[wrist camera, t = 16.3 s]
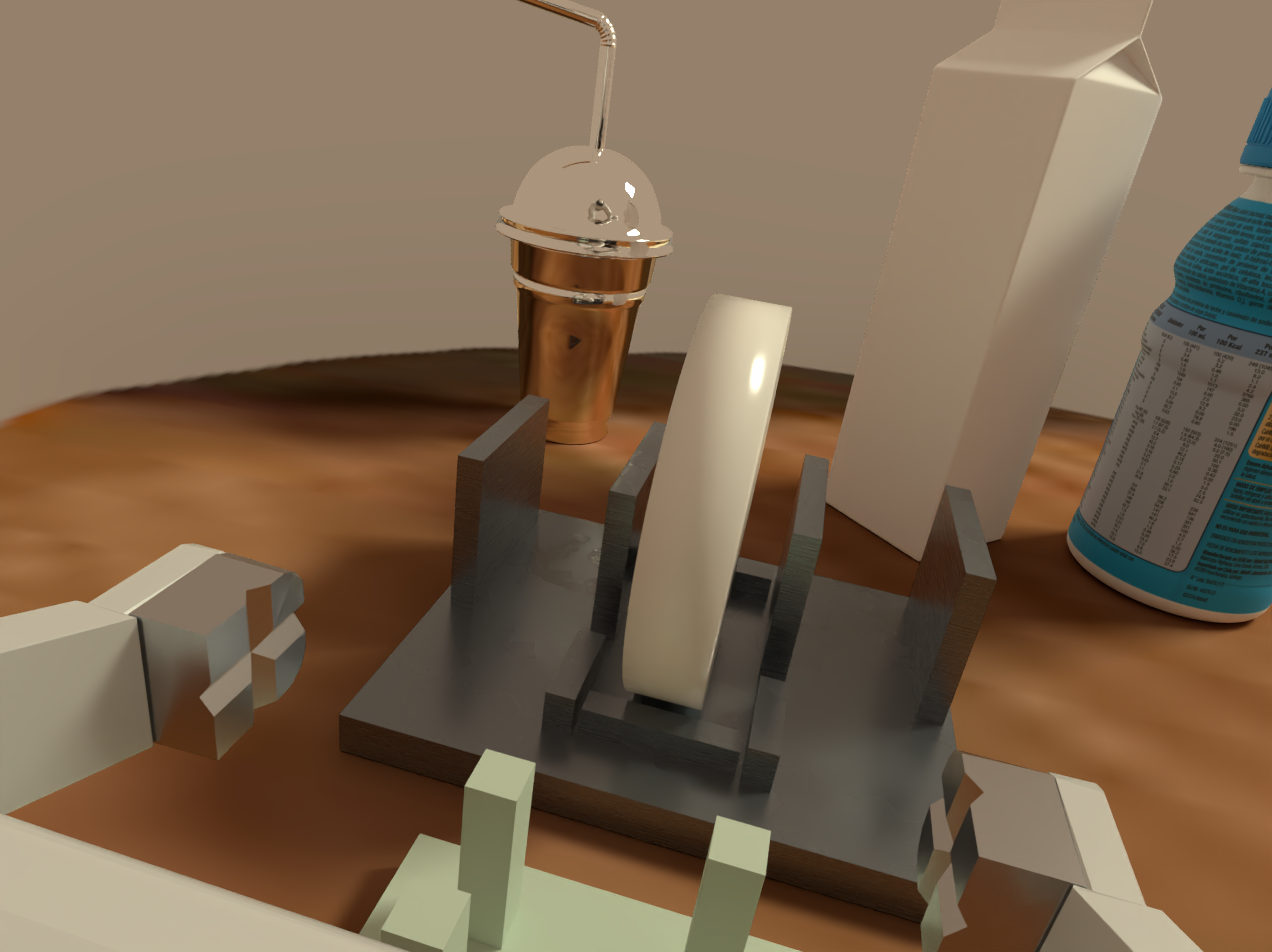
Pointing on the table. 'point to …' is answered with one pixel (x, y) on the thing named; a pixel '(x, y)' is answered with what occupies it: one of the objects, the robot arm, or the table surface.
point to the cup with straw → (581, 262)
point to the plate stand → (555, 888)
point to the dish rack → (738, 689)
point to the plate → (702, 499)
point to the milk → (992, 261)
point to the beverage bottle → (1196, 428)
